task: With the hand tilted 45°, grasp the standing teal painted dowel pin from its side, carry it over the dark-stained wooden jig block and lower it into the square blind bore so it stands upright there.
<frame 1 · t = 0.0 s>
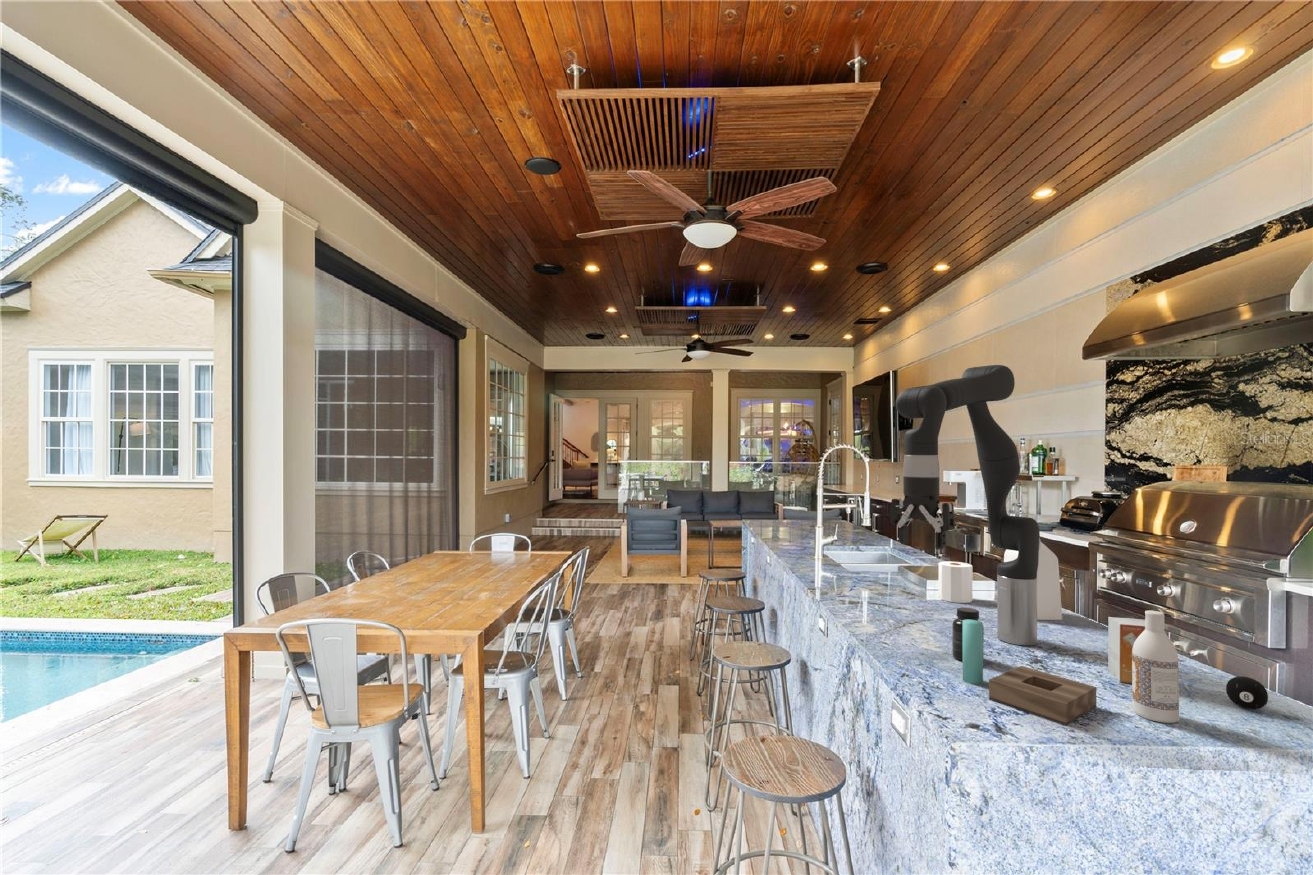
hand: (921, 546, 136), 29 cm above the countertop, tool pointing down, fingers open, 8 cm apart
toilet paper: (955, 600, 205), on the countertop
billiard ball: (1246, 708, 120), on the countertop
supplement bottle: (967, 659, 147), on the countertop
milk: (1030, 614, 187), on the countertop
bath foam: (1155, 717, 116), on the countertop
pin: (972, 680, 133), on the countertop
small box: (1134, 680, 134), on the countertop
bore block: (1041, 703, 122), on the countertop
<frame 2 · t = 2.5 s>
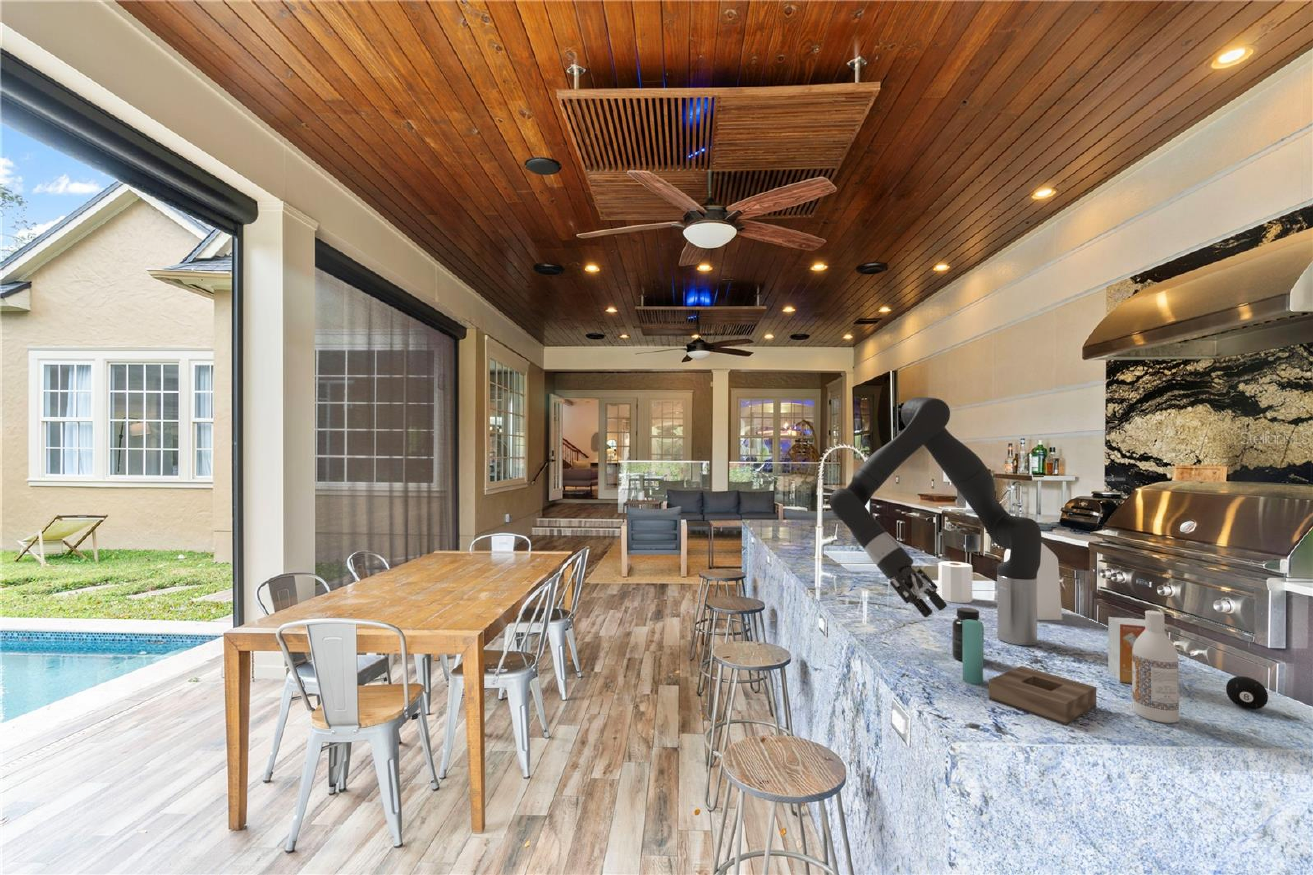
hand: (936, 611, 139), 14 cm above the countertop, tool tilted 45°, fingers open, 8 cm apart
nothing on the countertop moved.
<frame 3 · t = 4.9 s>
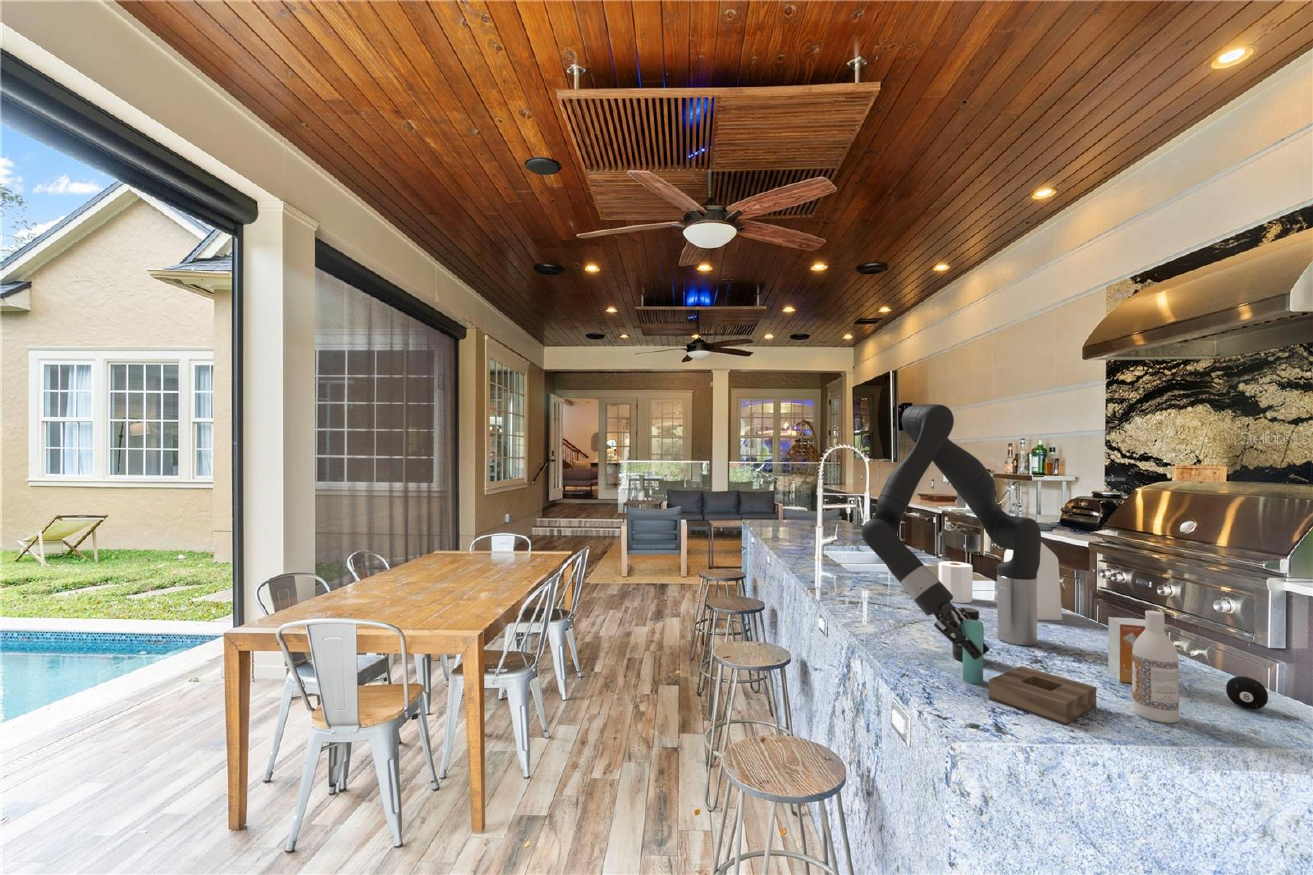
hand: (982, 654, 132), 6 cm above the countertop, tool tilted 45°, fingers closed on pin, 4 cm apart
pin: (972, 680, 133), on the countertop, touching gripper
everything else where it was.
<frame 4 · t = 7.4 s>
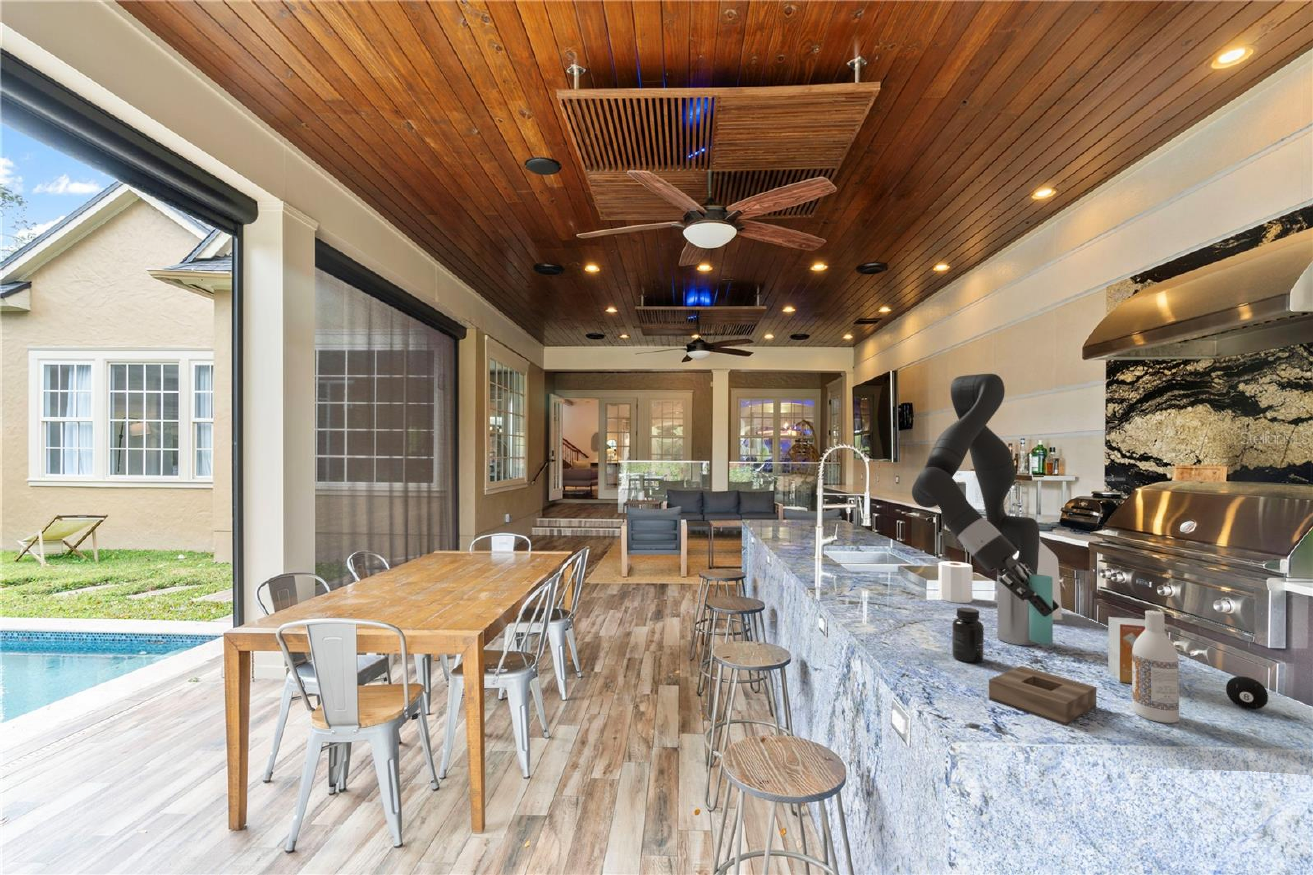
hand: (1052, 611, 121), 19 cm above the countertop, tool tilted 45°, fingers closed on pin, 4 cm apart
pin: (1040, 640, 122), point 13 cm above the countertop, touching gripper
everything else where it was.
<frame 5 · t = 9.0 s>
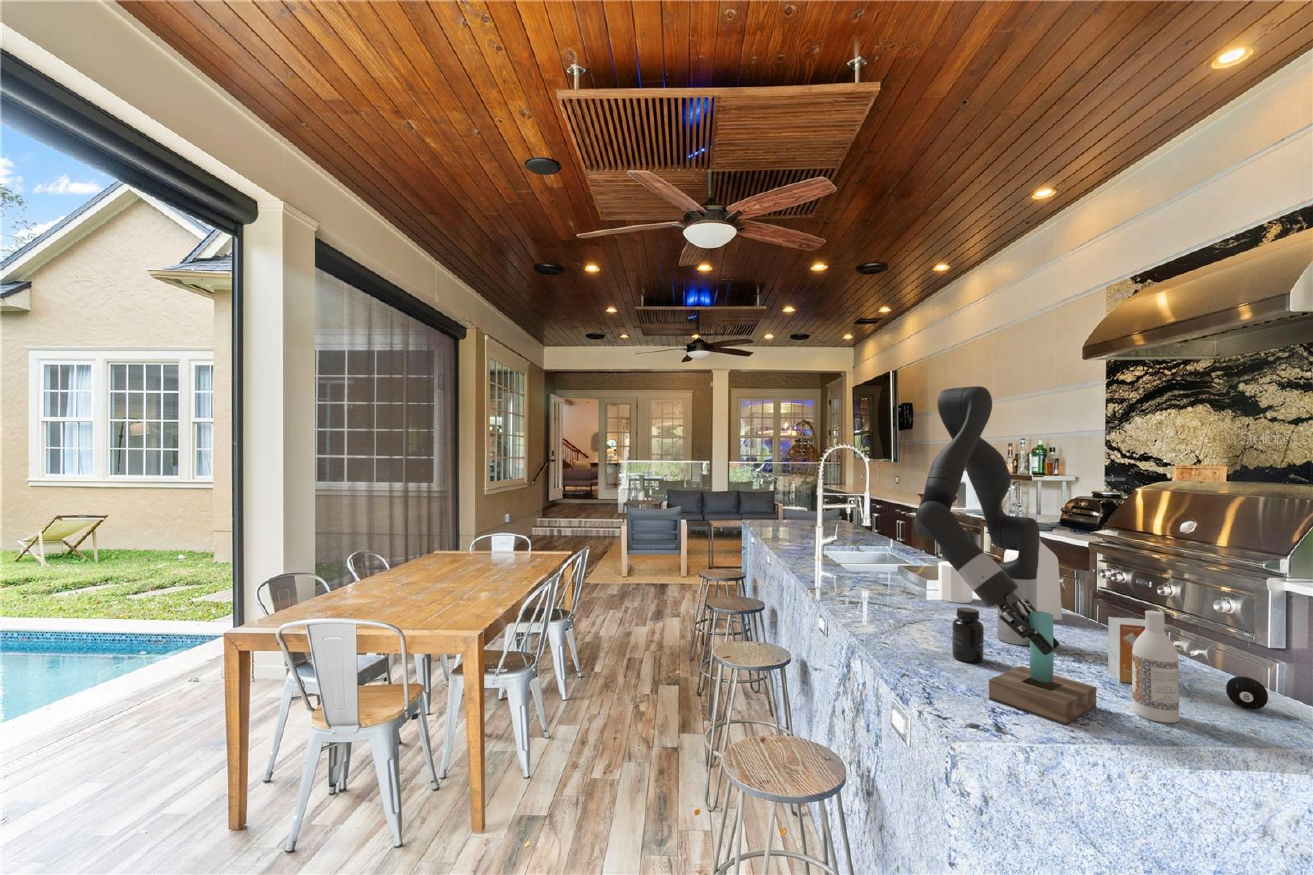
hand: (1052, 649, 120), 11 cm above the countertop, tool tilted 45°, fingers closed on pin, 4 cm apart
pin: (1041, 678, 122), point 5 cm above the countertop, touching gripper
everything else where it was.
when the fingers open (8 cm above the countertop, at t = 10.2 s): pin drops 1 cm, resting on bore block.
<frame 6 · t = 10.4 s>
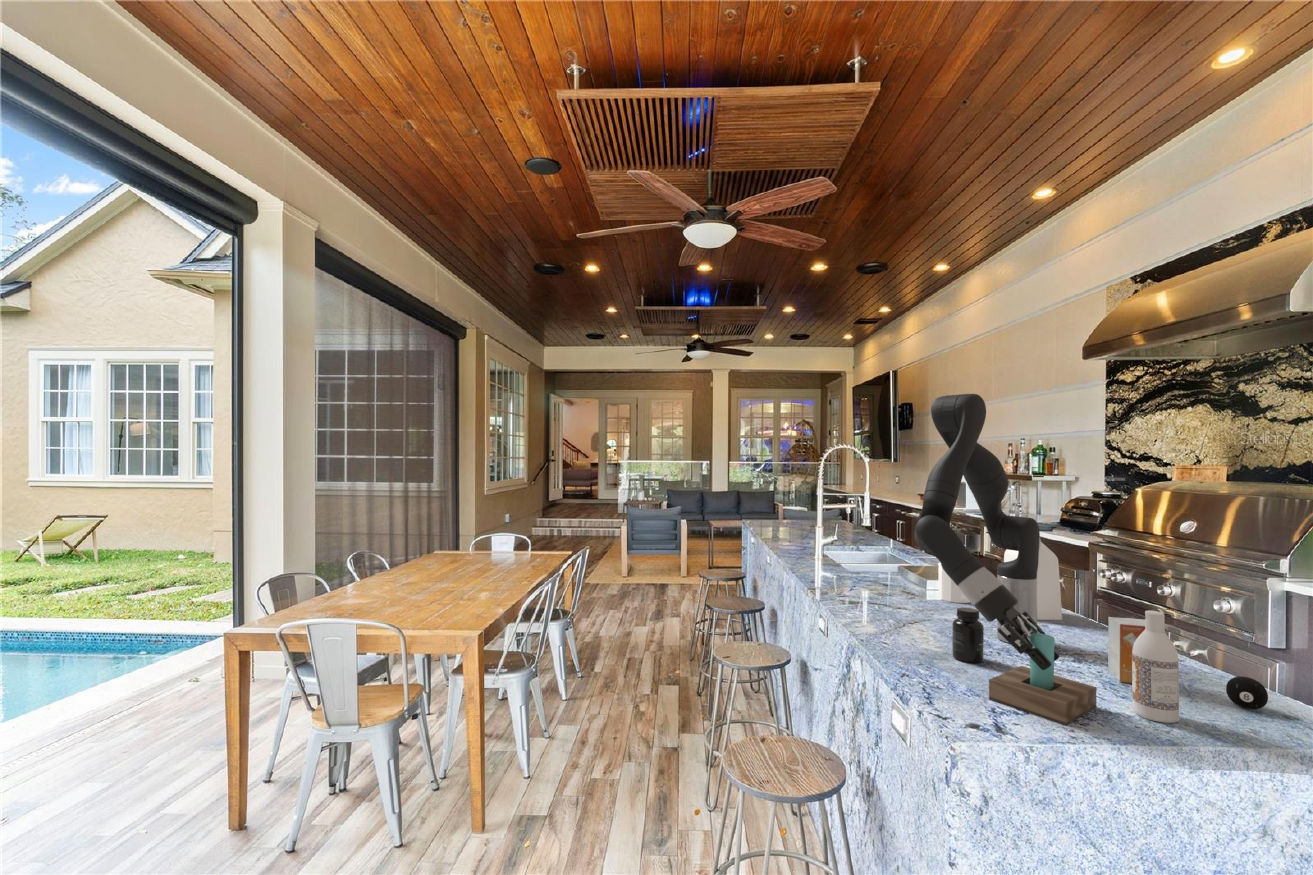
hand: (1051, 663, 120), 8 cm above the countertop, tool tilted 45°, fingers open, 6 cm apart
pin: (1041, 700, 122), point 1 cm above the countertop, touching bore block
everything else where it was.
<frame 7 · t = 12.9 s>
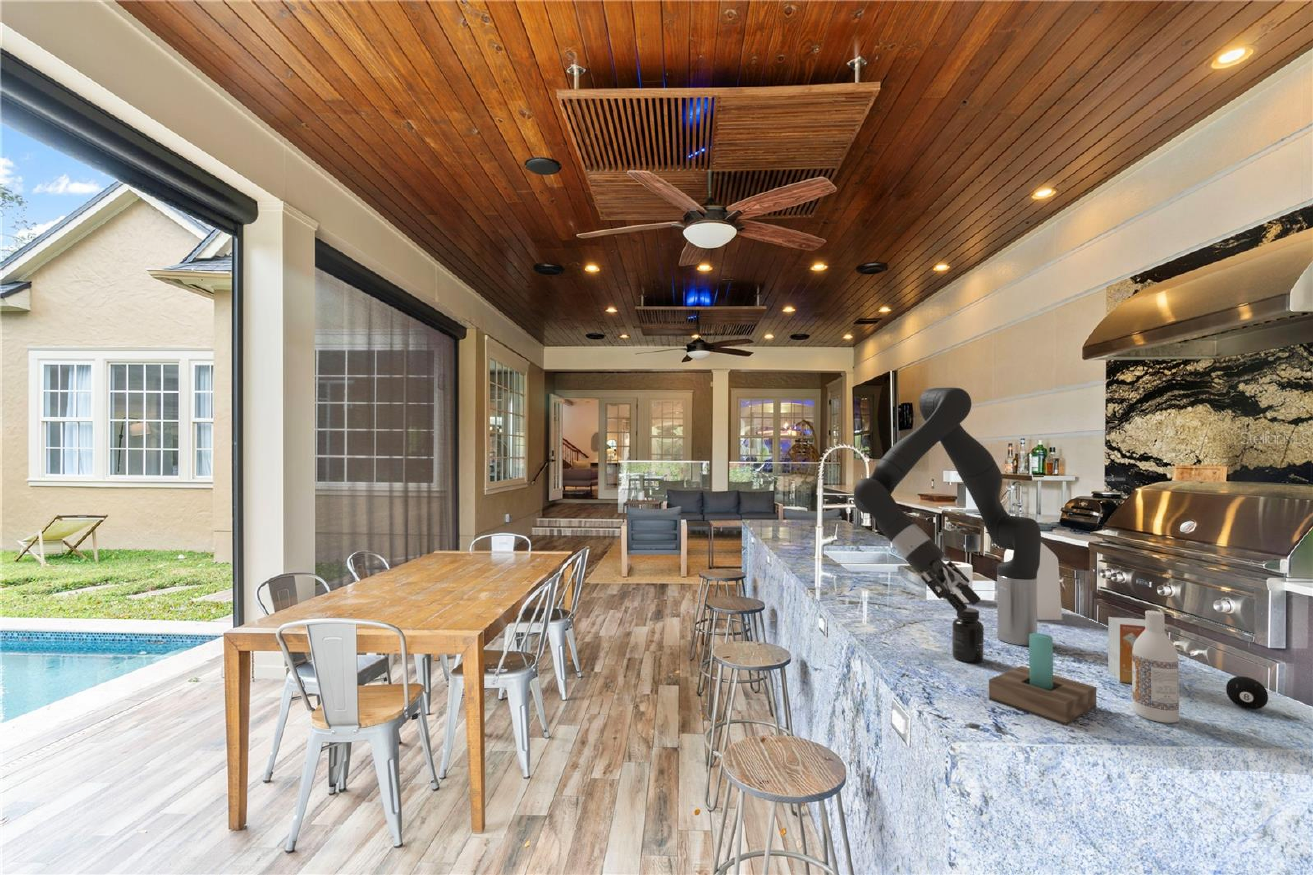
hand: (970, 606, 132), 17 cm above the countertop, tool tilted 45°, fingers open, 8 cm apart
nothing on the countertop moved.
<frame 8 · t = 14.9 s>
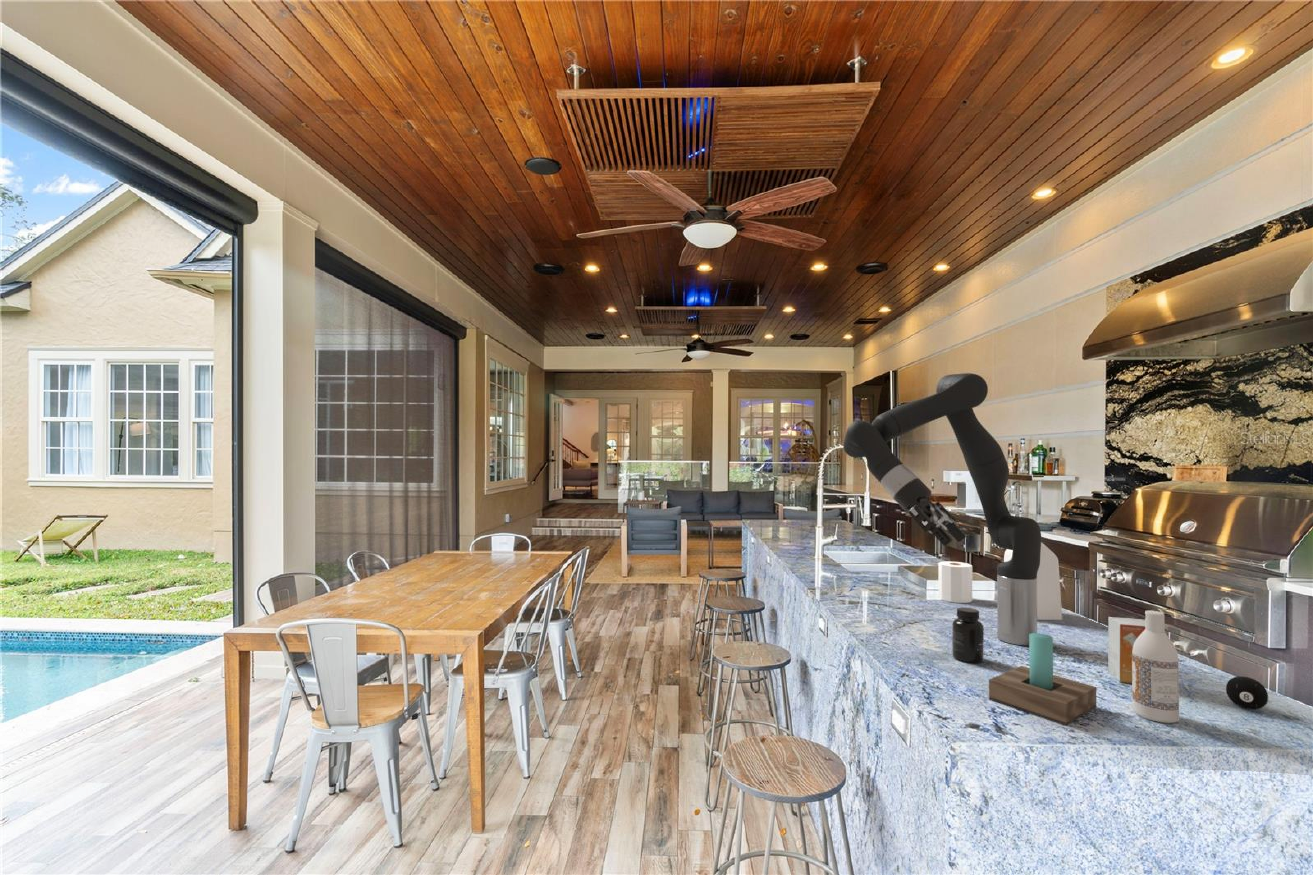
hand: (956, 541, 135), 31 cm above the countertop, tool tilted 45°, fingers open, 8 cm apart
nothing on the countertop moved.
at the end: pin 0.1 cm off-centre on the bore block, point 0.5 cm above the bore block's base; pin tilted 1°; the gripper is holding nothing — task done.
